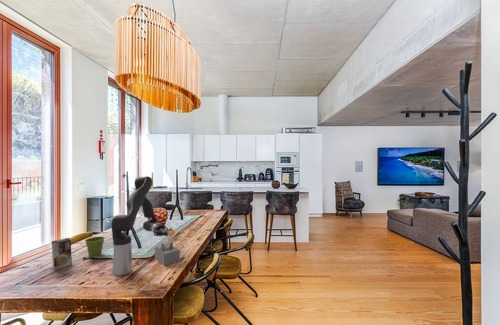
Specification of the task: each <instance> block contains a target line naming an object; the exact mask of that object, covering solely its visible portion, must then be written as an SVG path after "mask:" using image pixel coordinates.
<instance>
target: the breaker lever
mask: <svg viewBox="0 0 500 325" xmlns="http://www.w3.org/2000/svg"><path fill="white" fill-rule="evenodd" d="M175 234H176V231H175V229H172V230H169V231H168V236H166V240H165V242H164V248H169V247H170V244H171V241H172V240H173V238H174V235H175ZM172 242H173V241H172Z"/></svg>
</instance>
